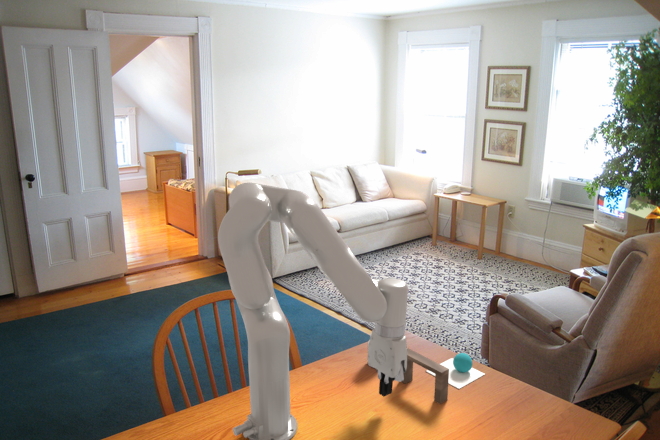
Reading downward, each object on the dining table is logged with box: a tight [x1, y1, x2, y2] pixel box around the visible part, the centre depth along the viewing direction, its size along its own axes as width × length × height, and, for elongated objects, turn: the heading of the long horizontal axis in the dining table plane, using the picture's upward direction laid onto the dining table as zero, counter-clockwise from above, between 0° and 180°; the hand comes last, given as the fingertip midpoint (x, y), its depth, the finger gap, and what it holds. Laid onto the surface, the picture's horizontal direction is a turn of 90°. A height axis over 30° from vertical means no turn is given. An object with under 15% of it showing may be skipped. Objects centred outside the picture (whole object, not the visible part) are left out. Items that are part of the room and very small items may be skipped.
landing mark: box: [425, 357, 486, 390], centre depth 153 cm, size 12×12×1 cm
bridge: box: [401, 347, 449, 405], centre depth 143 cm, size 3×14×9 cm, turn 39°
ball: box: [453, 352, 473, 373], centre depth 153 cm, size 6×6×6 cm
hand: (385, 393), depth 135 cm, fingers closed
